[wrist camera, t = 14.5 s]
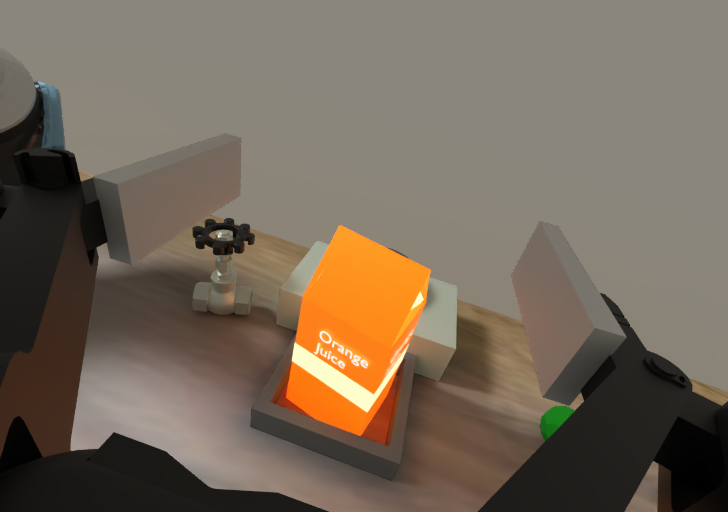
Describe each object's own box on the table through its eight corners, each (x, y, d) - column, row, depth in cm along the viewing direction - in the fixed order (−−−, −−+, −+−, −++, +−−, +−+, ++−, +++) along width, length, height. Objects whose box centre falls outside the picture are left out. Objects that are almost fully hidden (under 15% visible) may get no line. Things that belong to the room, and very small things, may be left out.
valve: (203, 291, 48) (200, 213, 41) (253, 296, 49) (258, 221, 43) (188, 326, 42) (183, 243, 36) (245, 331, 44) (250, 251, 37)
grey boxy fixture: (214, 412, 34) (213, 351, 29) (311, 271, 56) (320, 223, 52) (430, 495, 32) (467, 444, 28) (443, 315, 55) (464, 270, 50)
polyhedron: (529, 443, 39) (550, 419, 37) (536, 413, 43) (556, 389, 40) (575, 474, 37) (601, 450, 35) (578, 439, 41) (602, 416, 39)
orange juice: (326, 354, 43) (361, 211, 33) (388, 394, 40) (448, 252, 30) (284, 398, 37) (310, 240, 27) (353, 449, 34) (413, 295, 24)
